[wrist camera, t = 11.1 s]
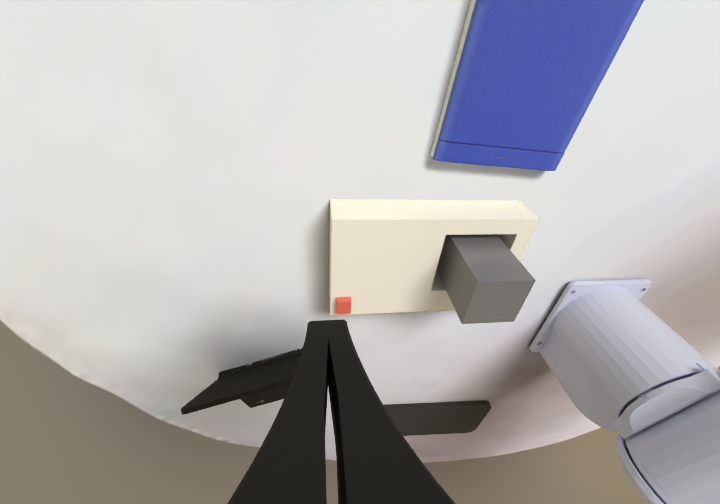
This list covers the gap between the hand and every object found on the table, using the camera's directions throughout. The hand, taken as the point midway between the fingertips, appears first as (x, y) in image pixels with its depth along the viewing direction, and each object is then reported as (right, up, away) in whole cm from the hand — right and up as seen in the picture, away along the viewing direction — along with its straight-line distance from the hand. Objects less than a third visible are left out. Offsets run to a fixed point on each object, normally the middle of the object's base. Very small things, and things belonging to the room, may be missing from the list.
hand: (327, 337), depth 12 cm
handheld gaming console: (-6, -7, +18) cm, 20 cm away
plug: (+9, +4, +11) cm, 15 cm away
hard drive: (+10, +14, +5) cm, 18 cm away
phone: (+10, -17, +28) cm, 34 cm away
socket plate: (+5, +3, +11) cm, 13 cm away
